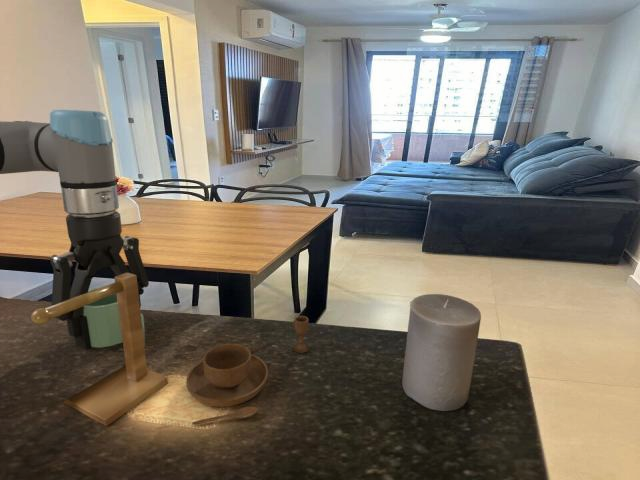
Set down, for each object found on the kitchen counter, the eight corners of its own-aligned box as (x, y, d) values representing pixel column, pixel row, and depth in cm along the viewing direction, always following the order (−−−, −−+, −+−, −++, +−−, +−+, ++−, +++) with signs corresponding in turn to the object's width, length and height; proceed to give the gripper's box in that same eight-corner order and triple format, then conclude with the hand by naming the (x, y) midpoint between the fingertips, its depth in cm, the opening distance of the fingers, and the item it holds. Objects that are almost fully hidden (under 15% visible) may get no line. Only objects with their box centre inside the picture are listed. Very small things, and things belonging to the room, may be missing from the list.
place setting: (191, 355, 64) (188, 323, 63) (306, 342, 69) (307, 313, 68) (182, 432, 48) (178, 393, 47) (333, 408, 53) (335, 372, 51)
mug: (71, 347, 65) (63, 299, 63) (116, 325, 73) (111, 282, 70) (122, 370, 60) (116, 318, 57) (166, 344, 67) (162, 297, 65)
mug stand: (19, 413, 50) (-8, 294, 46) (115, 360, 62) (101, 261, 58) (75, 448, 45) (51, 318, 41) (168, 382, 57) (157, 276, 53)
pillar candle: (458, 372, 62) (471, 287, 58) (476, 415, 53) (493, 318, 48) (397, 367, 63) (406, 283, 58) (405, 409, 53) (416, 313, 49)
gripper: (32, 230, 50) (60, 378, 56) (164, 204, 68) (173, 318, 75) (1, 222, 53) (31, 363, 59) (135, 199, 71) (146, 309, 78)
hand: (110, 337), depth 67 cm, fingers closed on mug, 9 cm apart
